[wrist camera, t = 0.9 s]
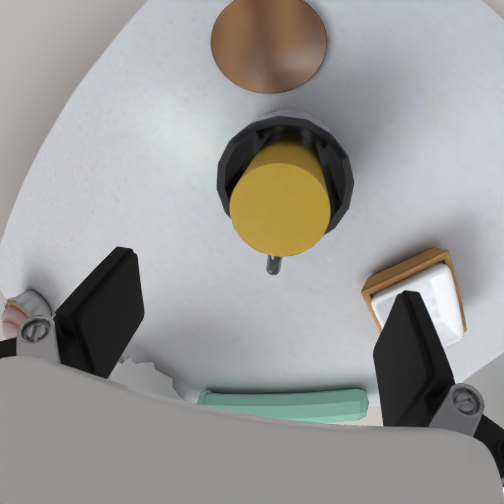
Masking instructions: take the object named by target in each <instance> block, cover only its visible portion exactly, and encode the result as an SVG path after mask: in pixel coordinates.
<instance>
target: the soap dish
mask: <svg viewBox="0 0 504 504" xmlns="http://www.w3.org/2000/svg"><path fill="white" fill-rule="evenodd" d="M404 290H409V291H417V292H419V293H420V294H421V297H422V299H423V301H424V303H425V306H426V308H427V310H428V312H429V315H430V317H431V319H432V322H433V324H434V326H435V329H436V331H437V334H438V336H439V339H440V341H441V344H442V346H443V349H444V348H446V347H448V346H450V345H452V344H454V343H456V342H458V341H459V340H461V339H462V338H463V337H464V332H466V331H467V328H466V322H465V317H464V311H463V306H462V302H461V297H460V293H459V288H458V284H457V280H456V276H455V273H454V269H453V265H452V262H451V258H450V255H449V252H448V251H447V250H443V249H438V248H430V249H428V250H426V251H424V252H422V253H420V254H418V255H416V256H414V257H411V258H409V259H407V260H405V261H403V262H401V263H399V264H397V265H394V266H392V267H390V268H388V269H386V270H383V271H381V272H379V273H377V274H375V275H373V276H370V277H369V278H368V279H367V281H366V283H365V285H364V287H363V289H362V291H361V294H362V296H363V298H364V300H365V302H366V304H367V306H368V308H369V310H370V312H371V314H372V316H373V318H374V320H375V322H376V324H377V326H378V328H379V330H380V332H382V329H383V327H384V325H385V323H386V320H387V318H388V316H389V313H390V311H391V308H392V306H393V303H394V301H395V298H396V296H397V294H399V293H402V292H403V291H404Z"/></svg>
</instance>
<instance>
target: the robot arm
mask: <svg viewBox="0 0 504 504" xmlns="http://www.w3.org/2000/svg"><path fill="white" fill-rule="evenodd" d="M55 313H56V316H55V317H54V318H53V319H52V318H51V317H49V316H47V315H34V316H31V317H29V318H27V319H26V320H24V321H23V322H22V323H21V324H20V326H19V327H18V330H17V337H14V338H11V339H7V340H4V341H0V504H504V429H502V428H501V427H500V426H498V425H497V424H496V423H494V422H493V421H491V420H490V419H489V418H488V417H486V416H484V415H483V411H484V400H483V398H482V396H481V394H480V393H479V392H478V390H476V389H475V388H474V387H473V386H470V385H468V384H464V383H458V384H455V381H454V378H453V377H454V376H453V373H452V370H451V368H450V365H449V362H448V359H447V357H446V354H445V352H444V349H443V346H442V344H441V341H440V339H439V336H438V334H437V331H436V329H435V326H434V324H433V322H432V319H431V317H430V315H429V312H428V310H427V308H426V306H425V303H424V301H423V299H422V297H421V294H420V293H419V292H417V291H409V290H404V291H403V292H402V293H399V294H397V296H396V298H395V301H394V303H393V306H392V308H391V311H390V313H389V316H388V318H387V320H386V323H385V325H384V327H383V329H382V332H381V334H380V336H379V338H378V341H377V343H376V345H375V347H374V351H373V358H374V364H375V370H376V376H377V383H378V389H379V396H380V403H381V410H382V418H383V426H382V427H381V426H359V425H339V424H326V423H314V422H304V421H295V420H287V419H279V418H271V417H264V416H258V415H252V414H245V413H240V412H234V411H229V410H223V409H218V408H213V407H208V406H204V405H199V404H195V403H190V402H186V401H182V400H178V399H174V398H170V397H166V396H162V395H158V394H154V393H151V392H147V391H144V390H140V389H137V388H133V387H130V386H127V385H124V384H120V383H117V382H114V381H111V380H108V377H109V376H110V374H111V372H112V370H113V369H114V367H115V365H116V364H117V362H118V360H119V358H120V357H121V355H122V353H123V352H124V350H125V348H126V347H127V345H128V343H129V342H130V340H131V338H132V337H133V335H134V333H135V332H136V330H137V328H138V327H139V325H140V323H141V322H142V320H143V318H144V304H143V297H142V290H141V282H140V274H139V265H138V257H137V254H136V253H134V252H133V250H132V249H130V248H124V247H116V248H115V249H114V250H113V251H112V252H111V253H110V254H109V255H108V256H107V257H106V258H105V259H104V260H103V261H102V262H101V263H100V264H99V265H98V266H97V267H96V268H95V269H94V270H93V271H92V272H91V273H90V274H89V276H88V277H87V278H86V279H85V280H84V281H83V282H82V283H81V284H80V285H79V286H78V287H77V288H76V289H75V290H74V292H73V293H72V294H71V295H70V296H69V297H68V298H67V299H66V300H65V301H64V303H63V304H62V305H61V306H60V307H59V308H58V309H57V310H56V312H55Z"/></svg>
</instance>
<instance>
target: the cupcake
mask: <svg viewBox="0 0 504 504" xmlns="http://www.w3.org/2000/svg"><path fill="white" fill-rule="evenodd" d="M4 306H5V308H6V309H5V310H4V312H3V314H2V323H3V325H2V332H3V336H4V338H5V340H7V339H11V338H14V337H17V330H18V327H19V326H20V324H21V323H22V322H23V321H24V320H26V319H27V318H29V317H31V316H34V315H47V316H49V317H51V311H50V308H49V306H48V304H47V303H46V301H45V300H44V299H43V298H42V297H41V296H40V295H39V294H38V293H36V292H34V291H31V290H30V291H26V292H24V293H22V294H20V295H18V296H16V297H13V298H9V299H7V303H5V304H4Z"/></svg>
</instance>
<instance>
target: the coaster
mask: <svg viewBox="0 0 504 504" xmlns="http://www.w3.org/2000/svg"><path fill="white" fill-rule="evenodd" d="M326 48H327V37H326V31H325V28H324V25H323V23H322V21H321V19H320V17H319V16H318V14H317V13H316V12H315V11H314V9H313V8H312V7H311V6H309V5H308V4H307V3H306V2H304V1H303V0H234V1H233V2H231V3H230V4H229V5H228V6H227V7H226V8H225V9H224V10H223V11H222V12H221V13H220V15H219V16H218V18H217V20H216V22H215V24H214V26H213V30H212V34H211V50H212V54H213V58H214V60H215V62H216V64H217V66H218V68H219V69H220V71H221V72H222V73H223V74H224V75H225V76H226V77H227V78H228V79H229V80H230V81H232V82H233V83H234V84H236V85H238V86H240V87H241V88H244V89H246V90H249V91H253V92H257V93H268V94H272V93H281V92H286V91H289V90H292V89H294V88H296V87H299V86H300V85H302V84H304V83H305V82H306V81H308V80H309V79H310V78H311V77H312V76H313V75H314V74H315V73H316V72H317V70H318V69H319V67H320V66H321V64H322V62H323V60H324V57H325V54H326Z"/></svg>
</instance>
